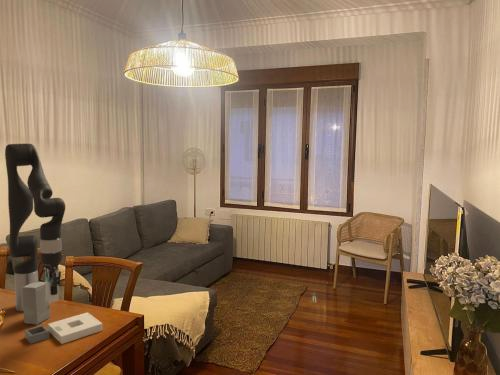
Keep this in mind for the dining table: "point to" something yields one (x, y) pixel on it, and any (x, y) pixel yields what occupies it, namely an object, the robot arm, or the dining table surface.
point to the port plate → (74, 327)
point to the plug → (50, 297)
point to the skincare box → (35, 303)
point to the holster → (37, 334)
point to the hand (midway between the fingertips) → (52, 292)
